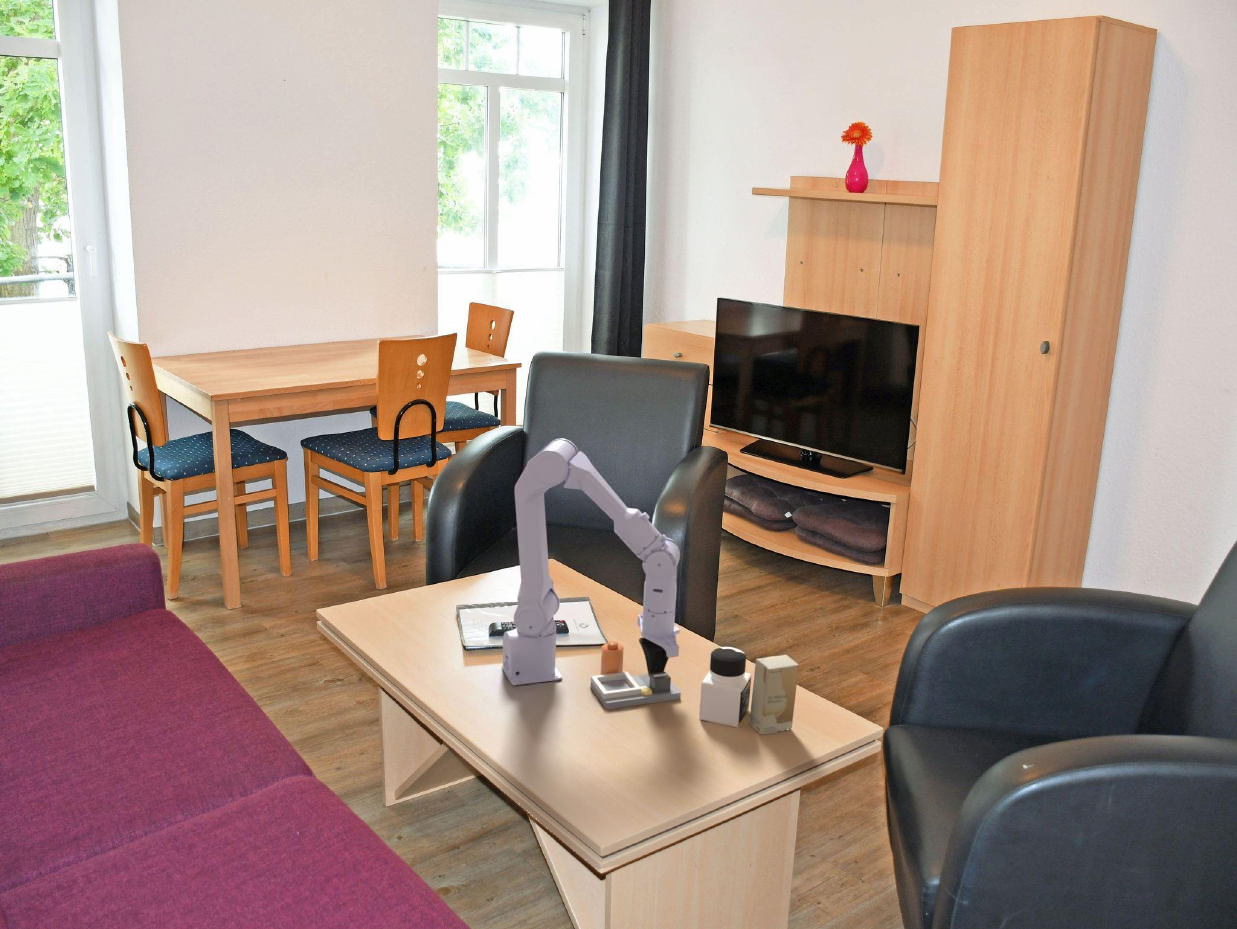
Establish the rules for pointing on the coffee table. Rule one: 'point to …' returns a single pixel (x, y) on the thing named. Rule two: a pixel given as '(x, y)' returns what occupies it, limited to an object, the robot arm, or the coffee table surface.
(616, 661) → the orange bottle
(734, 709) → the medicine bottle
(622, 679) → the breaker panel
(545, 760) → the coffee table surface
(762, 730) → the skincare box
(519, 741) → the coffee table surface
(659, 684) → the block
